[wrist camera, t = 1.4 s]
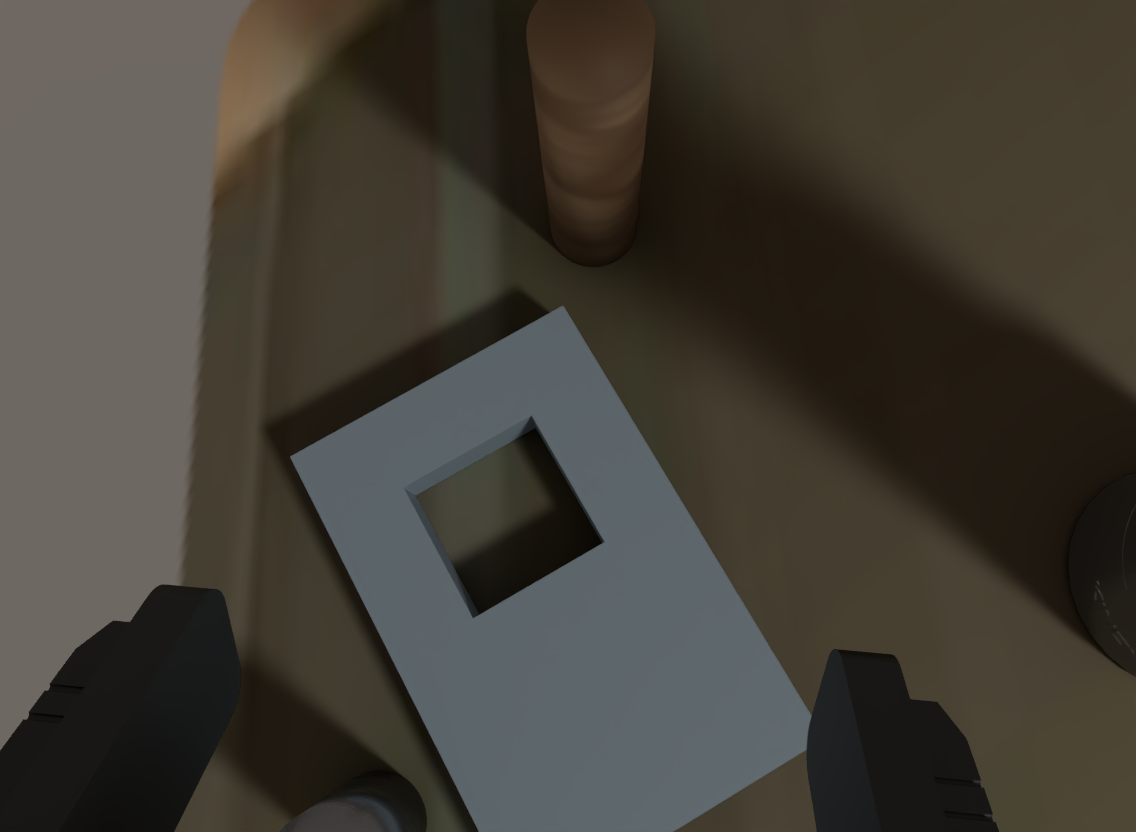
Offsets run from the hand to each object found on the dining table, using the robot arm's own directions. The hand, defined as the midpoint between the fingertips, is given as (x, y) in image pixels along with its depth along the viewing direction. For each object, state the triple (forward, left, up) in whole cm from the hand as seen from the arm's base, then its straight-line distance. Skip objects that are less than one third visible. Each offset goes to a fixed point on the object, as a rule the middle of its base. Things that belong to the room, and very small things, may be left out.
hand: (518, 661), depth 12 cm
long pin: (-10, -15, -26) cm, 32 cm away
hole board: (0, -2, -26) cm, 26 cm away
